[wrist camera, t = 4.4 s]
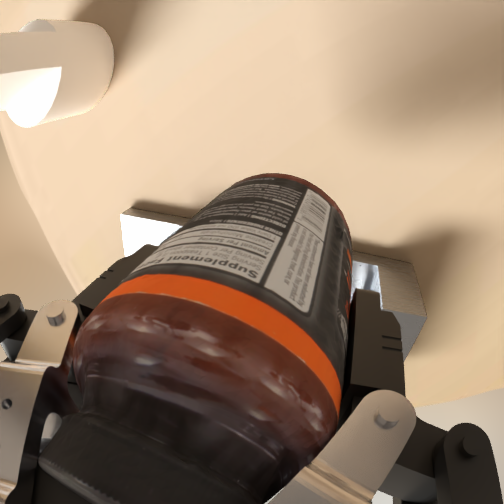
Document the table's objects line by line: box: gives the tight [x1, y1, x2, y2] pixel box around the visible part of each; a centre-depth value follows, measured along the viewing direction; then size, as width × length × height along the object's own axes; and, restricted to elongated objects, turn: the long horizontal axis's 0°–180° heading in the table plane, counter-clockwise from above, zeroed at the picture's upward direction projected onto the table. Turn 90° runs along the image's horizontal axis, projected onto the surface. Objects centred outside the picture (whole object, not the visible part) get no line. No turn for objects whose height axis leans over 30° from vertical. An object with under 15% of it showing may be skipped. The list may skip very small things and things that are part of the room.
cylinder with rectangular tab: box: [0, 19, 114, 128], centre depth 17 cm, size 9×9×12 cm
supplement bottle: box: [38, 173, 353, 504], centre depth 8 cm, size 6×6×11 cm
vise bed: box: [120, 208, 427, 361], centre depth 25 cm, size 24×12×6 cm, turn 85°
